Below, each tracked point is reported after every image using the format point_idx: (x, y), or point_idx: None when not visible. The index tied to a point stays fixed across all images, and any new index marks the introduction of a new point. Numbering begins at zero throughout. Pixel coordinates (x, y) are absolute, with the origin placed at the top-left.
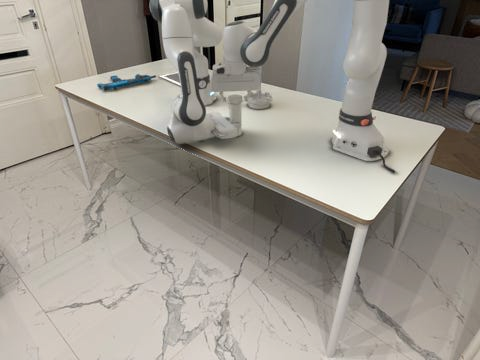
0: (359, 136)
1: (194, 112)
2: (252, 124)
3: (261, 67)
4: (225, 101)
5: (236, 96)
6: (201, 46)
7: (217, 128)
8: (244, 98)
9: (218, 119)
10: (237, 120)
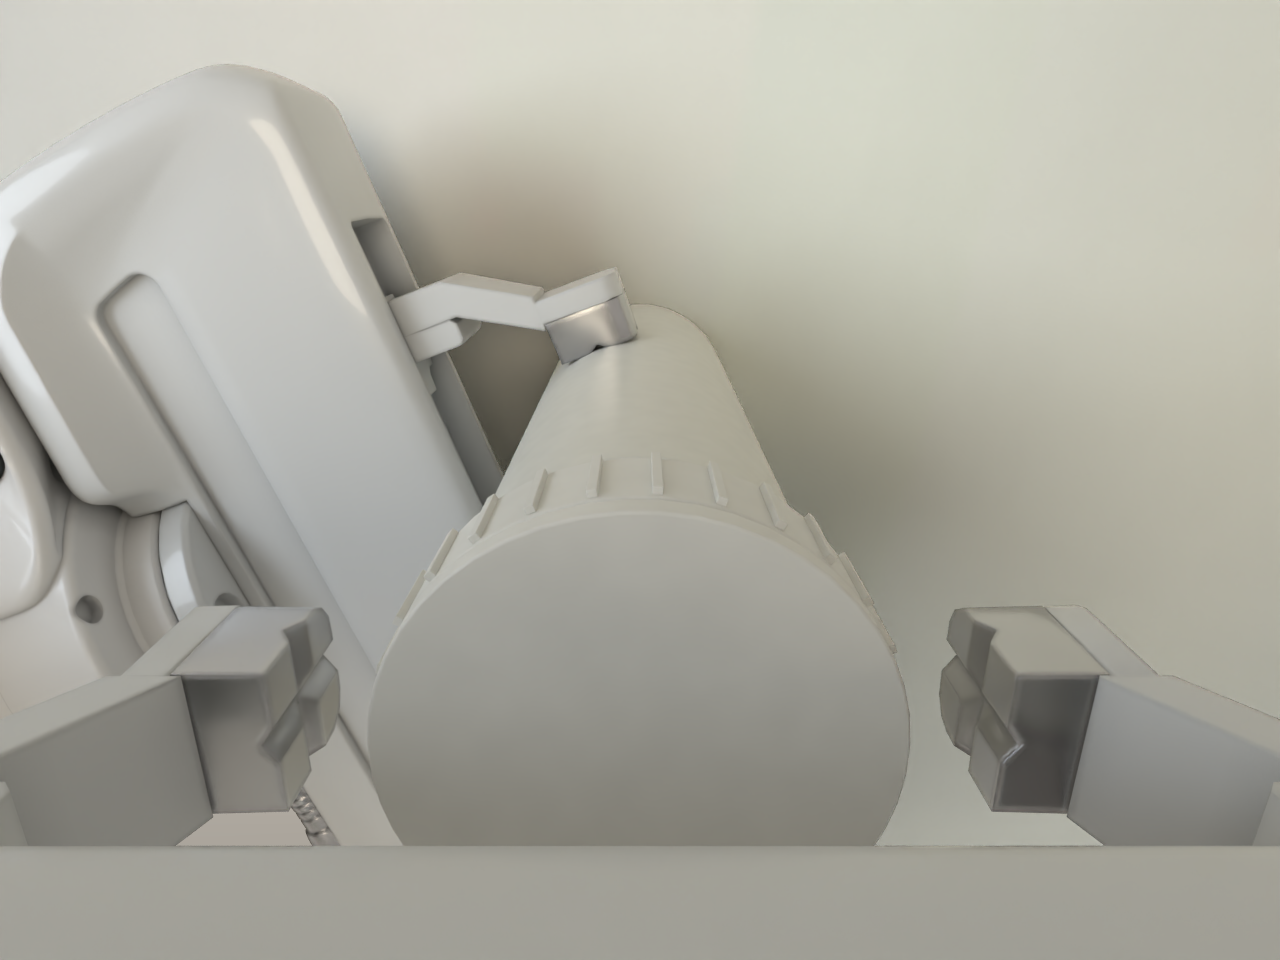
0: None
1: None
2: (970, 57)
3: None
4: (311, 730)
5: (687, 748)
6: None
7: (320, 811)
8: (977, 625)
9: (306, 491)
10: None
